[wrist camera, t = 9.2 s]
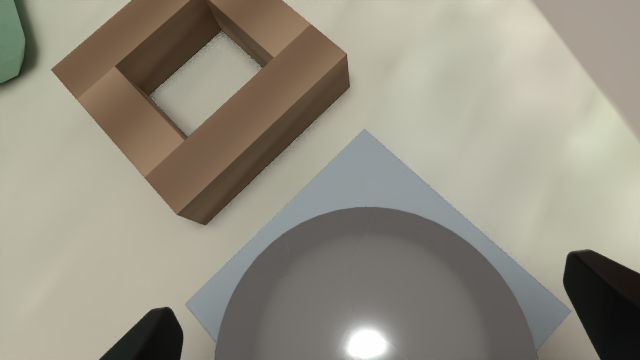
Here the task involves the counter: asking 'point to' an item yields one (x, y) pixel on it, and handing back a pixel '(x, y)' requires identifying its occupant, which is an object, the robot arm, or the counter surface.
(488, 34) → the counter surface
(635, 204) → the counter surface
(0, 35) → the green faceted rod
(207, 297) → the socket block
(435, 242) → the axle
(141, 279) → the counter surface
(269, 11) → the brown square frame
